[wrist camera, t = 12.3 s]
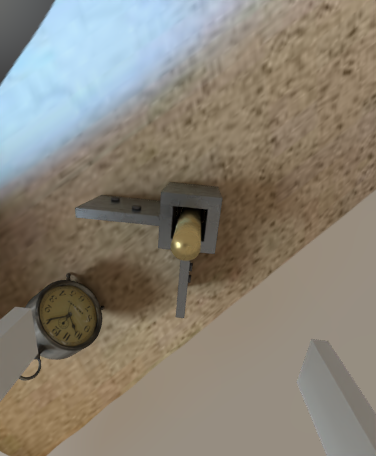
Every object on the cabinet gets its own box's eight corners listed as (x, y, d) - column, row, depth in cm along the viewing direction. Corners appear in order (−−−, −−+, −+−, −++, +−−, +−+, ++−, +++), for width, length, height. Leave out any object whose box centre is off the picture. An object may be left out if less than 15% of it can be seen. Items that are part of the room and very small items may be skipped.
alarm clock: (114, 307, 43) (66, 396, 28) (93, 321, 44) (37, 413, 29) (71, 264, 41) (-8, 336, 25) (51, 280, 42) (-36, 357, 27)
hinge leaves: (104, 277, 41) (82, 306, 33) (100, 175, 35) (73, 183, 28) (204, 288, 41) (205, 320, 33) (217, 186, 35) (222, 198, 27)
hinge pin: (182, 215, 37) (169, 259, 22) (183, 197, 36) (171, 231, 21) (200, 217, 36) (199, 262, 22) (201, 199, 36) (202, 235, 21)
